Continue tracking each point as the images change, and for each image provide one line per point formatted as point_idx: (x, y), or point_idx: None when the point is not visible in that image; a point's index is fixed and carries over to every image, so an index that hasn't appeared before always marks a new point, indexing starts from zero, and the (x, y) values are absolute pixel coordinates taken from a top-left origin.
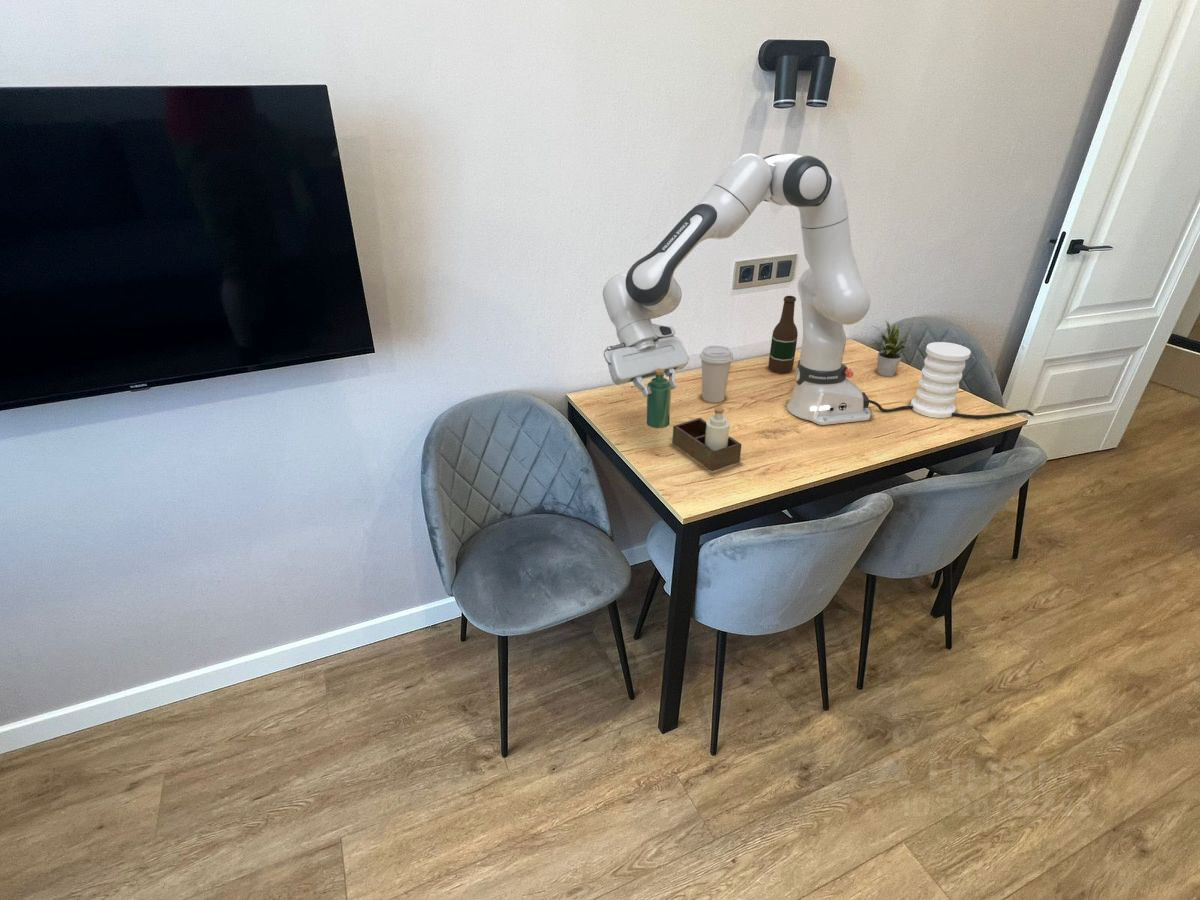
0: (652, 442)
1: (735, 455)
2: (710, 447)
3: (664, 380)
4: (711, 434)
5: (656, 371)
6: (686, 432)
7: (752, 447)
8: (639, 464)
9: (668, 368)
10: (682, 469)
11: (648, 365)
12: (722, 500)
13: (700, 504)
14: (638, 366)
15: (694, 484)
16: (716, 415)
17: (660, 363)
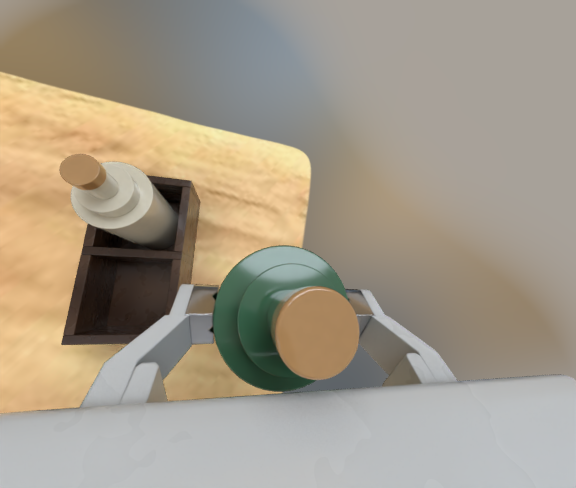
0: (212, 367)
1: None
2: (171, 209)
3: (266, 297)
4: (160, 195)
5: (357, 325)
6: (168, 291)
7: (35, 224)
8: None
9: (152, 402)
10: (233, 243)
11: (396, 475)
12: (243, 140)
13: (277, 154)
14: (512, 481)
15: (248, 196)
16: (109, 178)
17: (226, 485)
